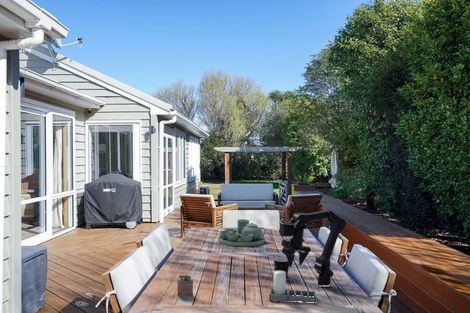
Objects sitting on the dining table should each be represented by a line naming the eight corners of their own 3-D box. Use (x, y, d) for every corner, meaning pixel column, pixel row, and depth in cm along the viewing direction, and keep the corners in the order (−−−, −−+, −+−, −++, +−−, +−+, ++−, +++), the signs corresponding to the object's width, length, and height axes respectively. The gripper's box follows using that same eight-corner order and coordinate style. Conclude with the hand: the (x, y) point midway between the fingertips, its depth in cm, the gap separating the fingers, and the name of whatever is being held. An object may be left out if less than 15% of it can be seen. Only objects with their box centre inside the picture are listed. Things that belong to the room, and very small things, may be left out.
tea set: (211, 239, 341) (211, 220, 341) (251, 236, 359) (251, 218, 359) (230, 248, 305) (230, 227, 306) (274, 245, 323) (274, 225, 323)
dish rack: (315, 297, 199) (315, 290, 199) (316, 304, 189) (316, 296, 189) (270, 294, 202) (270, 287, 202) (269, 300, 192) (269, 293, 192)
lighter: (193, 293, 201) (193, 274, 201) (192, 295, 197) (193, 276, 197) (177, 293, 200) (177, 273, 200) (176, 295, 197) (177, 275, 197)
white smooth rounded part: (282, 295, 200) (282, 270, 200) (287, 299, 194) (287, 273, 195) (271, 296, 199) (272, 270, 199) (276, 300, 193) (276, 274, 193)
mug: (273, 274, 238) (273, 257, 239) (288, 274, 238) (288, 258, 238) (273, 280, 226) (274, 262, 227) (289, 280, 226) (289, 263, 226)
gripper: (295, 233, 223) (293, 260, 223) (275, 234, 210) (272, 264, 210) (312, 237, 215) (309, 265, 215) (292, 238, 202) (289, 269, 202)
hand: (295, 265), depth 210 cm, fingers open, 9 cm apart
